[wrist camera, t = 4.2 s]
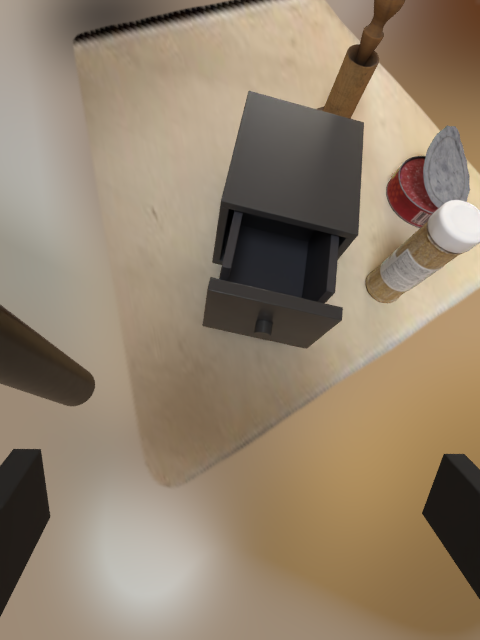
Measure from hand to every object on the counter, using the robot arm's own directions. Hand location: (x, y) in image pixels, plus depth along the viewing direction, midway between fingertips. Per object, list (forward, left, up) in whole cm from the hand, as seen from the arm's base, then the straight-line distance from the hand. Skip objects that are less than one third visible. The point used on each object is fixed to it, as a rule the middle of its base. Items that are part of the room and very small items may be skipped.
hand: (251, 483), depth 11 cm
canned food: (+19, +40, -22) cm, 50 cm away
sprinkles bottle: (+15, +24, -22) cm, 36 cm away
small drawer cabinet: (0, +28, -22) cm, 36 cm away
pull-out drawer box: (+1, +19, -21) cm, 28 cm away
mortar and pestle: (+4, +46, -22) cm, 51 cm away
